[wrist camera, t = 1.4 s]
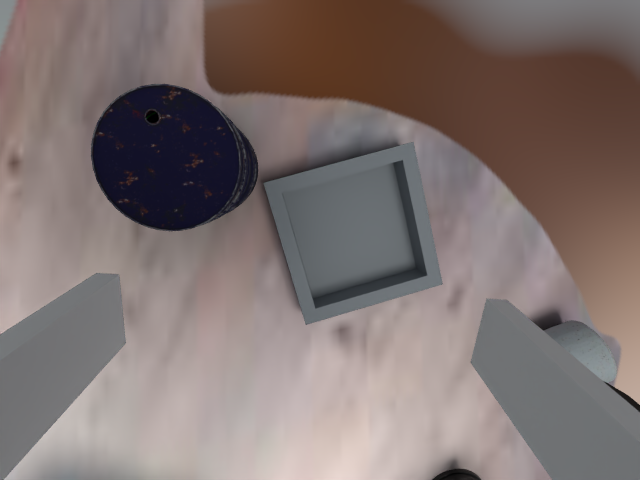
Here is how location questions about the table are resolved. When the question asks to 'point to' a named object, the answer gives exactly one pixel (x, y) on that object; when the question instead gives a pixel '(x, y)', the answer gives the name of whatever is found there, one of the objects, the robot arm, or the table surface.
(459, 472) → the french press
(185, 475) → the table surface
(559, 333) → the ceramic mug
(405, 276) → the tray
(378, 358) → the table surface
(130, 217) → the storage jar
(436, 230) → the table surface
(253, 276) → the table surface
